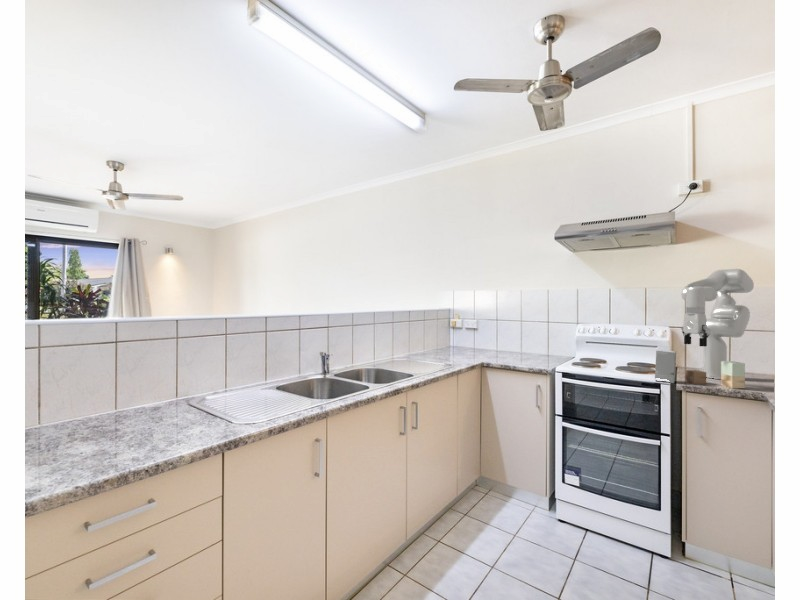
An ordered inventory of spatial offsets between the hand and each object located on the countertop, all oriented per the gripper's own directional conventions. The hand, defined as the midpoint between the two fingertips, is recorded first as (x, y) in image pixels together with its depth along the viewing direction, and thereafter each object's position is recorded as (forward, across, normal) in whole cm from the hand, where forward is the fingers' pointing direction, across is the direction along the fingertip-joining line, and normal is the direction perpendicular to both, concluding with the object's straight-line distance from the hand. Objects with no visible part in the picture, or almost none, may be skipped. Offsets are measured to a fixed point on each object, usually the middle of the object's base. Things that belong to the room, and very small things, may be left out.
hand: (695, 345), depth 189 cm
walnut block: (+19, 0, +1) cm, 19 cm away
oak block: (+19, +10, +11) cm, 24 cm away
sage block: (+13, +10, +11) cm, 19 cm away
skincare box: (+19, -3, -12) cm, 23 cm away
